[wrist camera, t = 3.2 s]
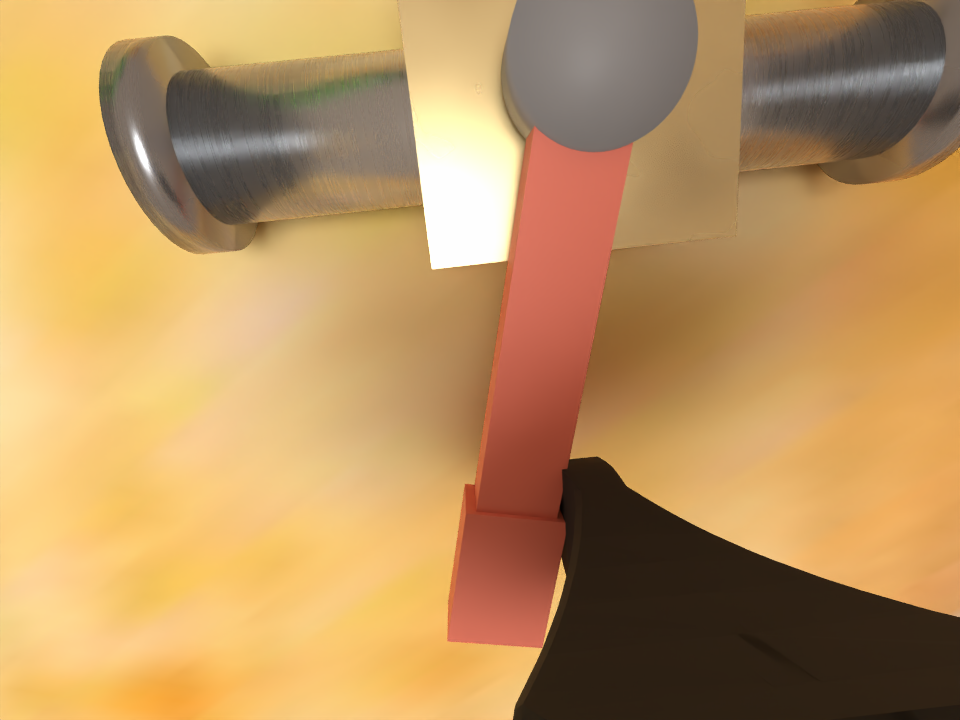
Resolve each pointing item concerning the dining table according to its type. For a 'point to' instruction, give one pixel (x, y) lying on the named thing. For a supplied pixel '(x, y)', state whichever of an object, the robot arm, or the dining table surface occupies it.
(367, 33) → the dining table surface
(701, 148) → the valve body
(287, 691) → the dining table surface
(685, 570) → the robot arm
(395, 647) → the dining table surface
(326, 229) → the dining table surface
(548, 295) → the lever
